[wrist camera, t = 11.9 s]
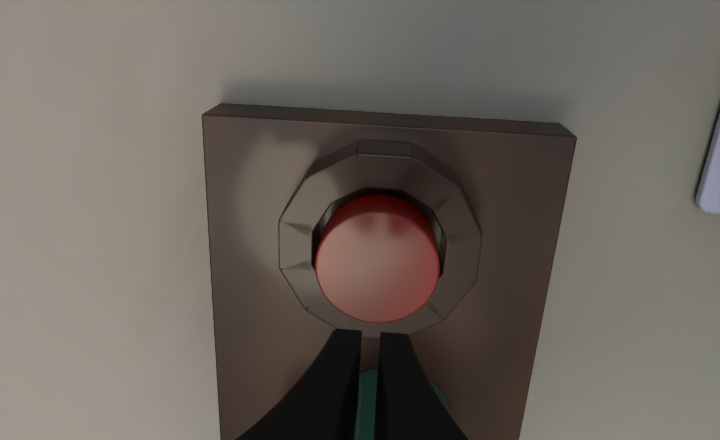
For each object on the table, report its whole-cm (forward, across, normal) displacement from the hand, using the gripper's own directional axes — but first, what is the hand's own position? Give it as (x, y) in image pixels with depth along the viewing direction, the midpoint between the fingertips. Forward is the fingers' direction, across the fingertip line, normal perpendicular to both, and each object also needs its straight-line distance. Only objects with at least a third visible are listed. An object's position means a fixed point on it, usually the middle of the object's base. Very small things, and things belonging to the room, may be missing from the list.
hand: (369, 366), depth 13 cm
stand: (+10, 0, +5) cm, 12 cm away
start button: (+7, 0, 0) cm, 7 cm away
